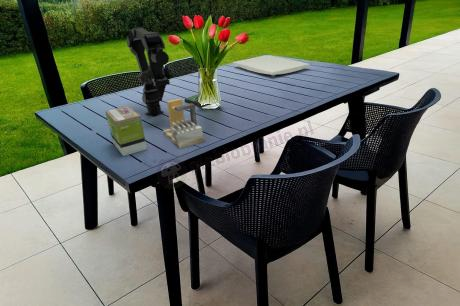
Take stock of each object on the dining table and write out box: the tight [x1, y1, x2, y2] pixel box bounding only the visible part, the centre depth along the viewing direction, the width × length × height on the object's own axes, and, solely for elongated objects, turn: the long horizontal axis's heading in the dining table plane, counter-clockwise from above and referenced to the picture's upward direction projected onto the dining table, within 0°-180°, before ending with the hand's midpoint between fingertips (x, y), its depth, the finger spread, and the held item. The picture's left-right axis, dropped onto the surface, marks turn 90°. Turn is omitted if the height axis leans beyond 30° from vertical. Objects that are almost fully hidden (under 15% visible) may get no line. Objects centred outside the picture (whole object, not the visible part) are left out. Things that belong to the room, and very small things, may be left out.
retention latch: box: [166, 98, 185, 131], centre depth 148 cm, size 6×6×13 cm
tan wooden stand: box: [162, 103, 206, 149], centre depth 146 cm, size 18×11×14 cm, turn 30°
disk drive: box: [184, 93, 212, 109], centre depth 190 cm, size 10×3×15 cm
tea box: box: [105, 105, 148, 157], centre depth 140 cm, size 15×10×15 cm
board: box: [232, 54, 311, 77], centre depth 247 cm, size 45×32×5 cm
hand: (161, 97), depth 161 cm, fingers closed
